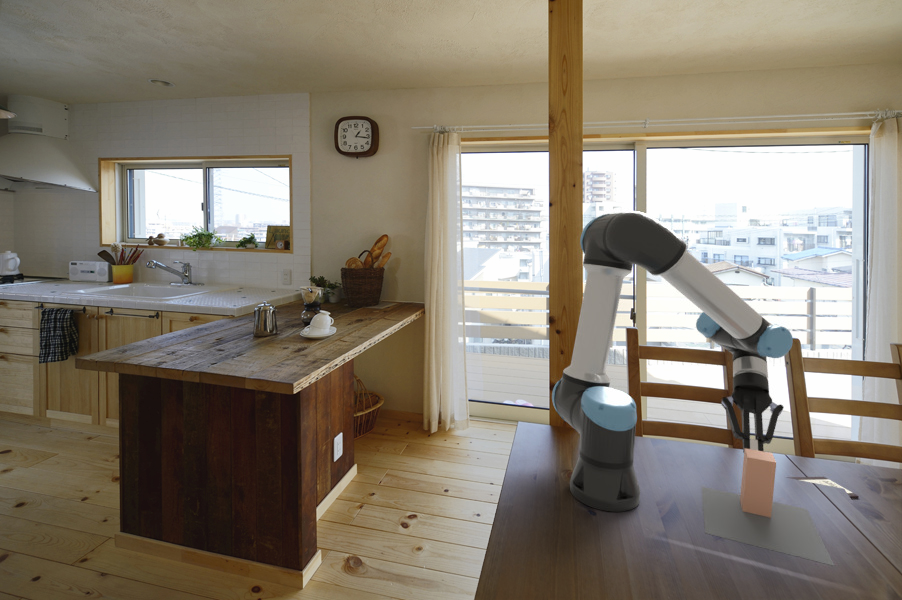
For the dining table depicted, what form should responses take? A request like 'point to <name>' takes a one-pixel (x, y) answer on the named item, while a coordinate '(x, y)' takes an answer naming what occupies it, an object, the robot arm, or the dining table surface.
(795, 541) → the mat
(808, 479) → the chocolate bar
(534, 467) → the dining table surface
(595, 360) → the robot arm
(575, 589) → the dining table surface
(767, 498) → the block
